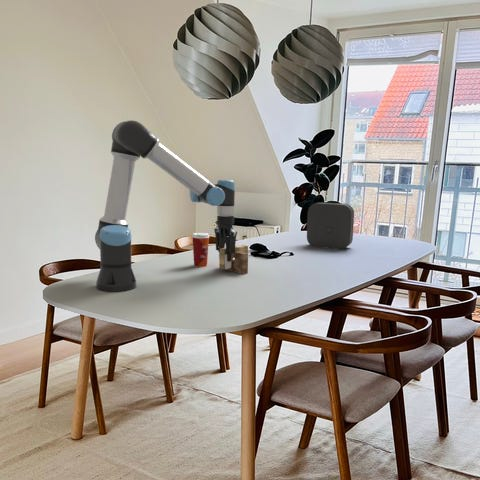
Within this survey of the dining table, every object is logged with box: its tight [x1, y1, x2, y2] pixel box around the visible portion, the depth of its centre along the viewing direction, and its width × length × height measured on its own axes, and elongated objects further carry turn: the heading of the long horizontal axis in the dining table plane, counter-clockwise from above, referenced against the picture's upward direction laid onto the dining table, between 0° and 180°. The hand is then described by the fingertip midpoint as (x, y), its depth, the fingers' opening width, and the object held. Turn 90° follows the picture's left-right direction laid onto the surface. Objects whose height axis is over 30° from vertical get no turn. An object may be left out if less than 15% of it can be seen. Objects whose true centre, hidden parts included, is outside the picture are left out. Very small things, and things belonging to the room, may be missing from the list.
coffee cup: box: [191, 232, 210, 268], centre depth 250 cm, size 8×8×15 cm
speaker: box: [306, 202, 355, 250], centre depth 305 cm, size 25×9×25 cm, turn 67°
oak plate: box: [218, 244, 249, 270], centre depth 241 cm, size 14×3×9 cm, turn 130°
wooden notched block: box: [225, 251, 249, 275], centre depth 242 cm, size 16×3×9 cm, turn 40°
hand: (225, 267), depth 239 cm, fingers closed on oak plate, 3 cm apart
